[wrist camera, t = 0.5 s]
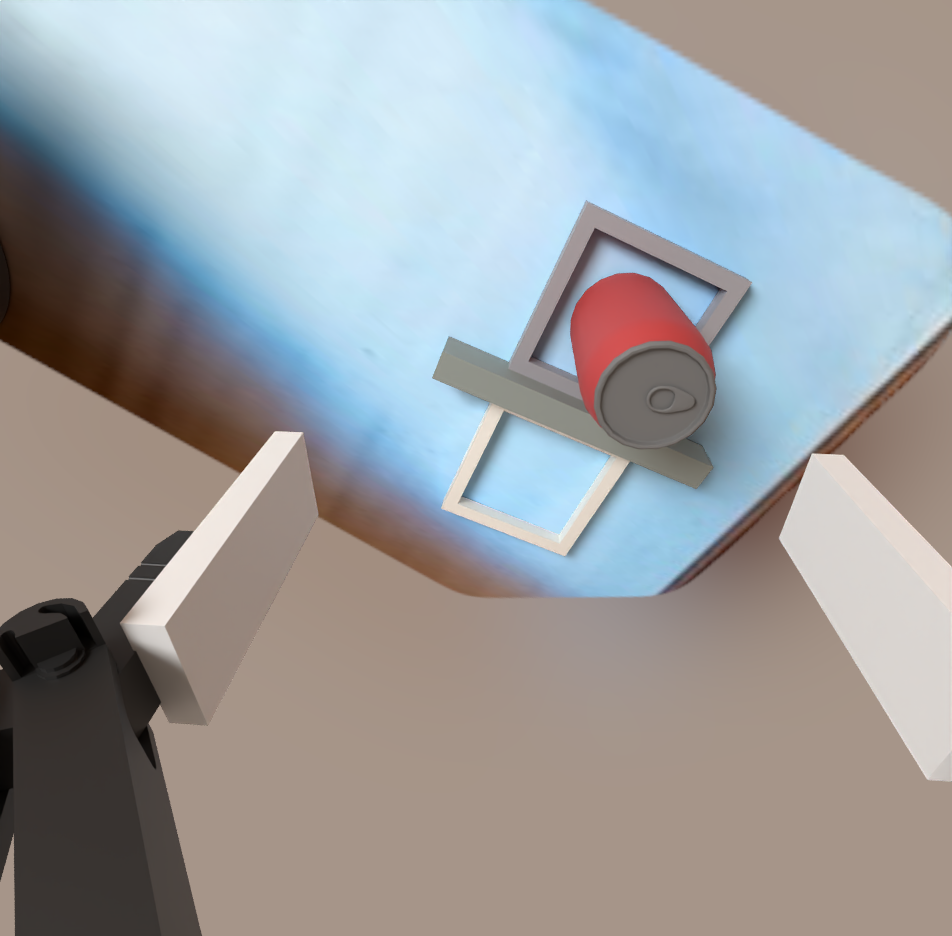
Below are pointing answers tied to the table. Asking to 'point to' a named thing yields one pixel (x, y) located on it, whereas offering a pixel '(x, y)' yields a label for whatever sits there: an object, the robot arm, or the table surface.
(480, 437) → the double frame with crossbar
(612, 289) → the beer can
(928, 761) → the robot arm
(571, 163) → the table surface
